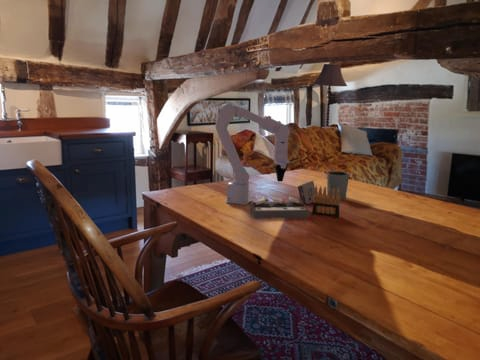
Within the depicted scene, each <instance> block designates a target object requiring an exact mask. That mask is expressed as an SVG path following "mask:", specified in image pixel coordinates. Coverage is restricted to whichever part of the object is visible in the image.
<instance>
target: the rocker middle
mask: <svg viewBox="0 0 480 360" xmlns="http://www.w3.org/2000/svg"><path fill="white" fill-rule="evenodd" d="M271 200H272V202H278V204H279V203H282V204H285V203H286V202H287V201H286V200H285V199H283V198H278V197H275V196H271Z"/></svg>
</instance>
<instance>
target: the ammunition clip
mask: <svg viewBox="0 0 480 360" xmlns="http://www.w3.org/2000/svg"><path fill="white" fill-rule="evenodd" d="M340 204H341V200H340V189H339V188H338V190H337V196H336V200H335V188H333V191H332V197H331V190H330V187H329V189H328V194H327V187H326V186H324V187H323V189H322V186H321V185H320V186H319V189H318V186H317V185H315V191H314V198H313V202H312V211H311V215H313V216H321V217H328V218H329V217H330V218H331V217H332V218H336V219H337V218H338V219H339V218H340Z"/></svg>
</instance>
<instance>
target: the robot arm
mask: <svg viewBox="0 0 480 360" xmlns="http://www.w3.org/2000/svg"><path fill="white" fill-rule="evenodd" d="M234 118H244V119H247V120H249V121H252V122H254V123H255V124H258V126H259V129H261V130H264V131H266V132H268V133H270V134H272V135H275V136H274V137H275V139H274V155H273V156H274V158H273V159H274V160H273V163H274V165H273V168H274V169H275V175H276V181H277V182H283V181H284V177H285V174H286V171H287V170H288V165H287V164H289V163H291V160H288V150H289V149H288V145H289V136H290V134H291V130H290V128H289V127H288V125H286V124H284V123H282V121H280V120H276V119H274V118H272V116H271V115H268V116H267V115H264V116H260V115H258V114H256V113H254V112H251V111H250V110H248V109H246V108H244V107H242V106H239V105H238V106H237V105H233V104H230V103H228V102H227V103H223V104H221V106H220V108H219V109H218V111H217V116H216V120H215V125H214V128H215V131H216V132H217V135H218V137H219V139H220V142H221V144H222V147H223V149H224V152H225V154H226V156H227V158H228V160H229V163H230V166H231V168H232V176H233V177H234V178H233V180H232V181H229V182H228V183H227V185H226V201H225V203H227V204H233V205H242V206H247V205H248V204H249V203H251V202H252V199H249V195H250V194H249V184H250V183H249V179H250V174H249V172H248V171H247V169H246V168H245V167H244V166H243V163H242V161H241V159H240V157H239V154H238V152H237V149H236V146H235V145H234V142H233V140H232V137H231V135H230V132H229V129H228V126H229V124H230V122H231V121H232V120H233V119H234Z"/></svg>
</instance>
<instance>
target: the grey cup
mask: <svg viewBox="0 0 480 360" xmlns="http://www.w3.org/2000/svg"><path fill="white" fill-rule="evenodd" d="M326 176H327V177H326V179H327V180H326V183H327V184H326V185H327V187H326V195H327V194H328V189H329V187H330V190H331V197H332V191H333V188H335V201H336V196H337V190H338V188H339V189H340V201H342V200H343V201H344V200H346V198H347V192H348V185H349V180H350V179H349V178H350V172H345V171H342V170H330V171H327V173H326Z"/></svg>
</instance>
